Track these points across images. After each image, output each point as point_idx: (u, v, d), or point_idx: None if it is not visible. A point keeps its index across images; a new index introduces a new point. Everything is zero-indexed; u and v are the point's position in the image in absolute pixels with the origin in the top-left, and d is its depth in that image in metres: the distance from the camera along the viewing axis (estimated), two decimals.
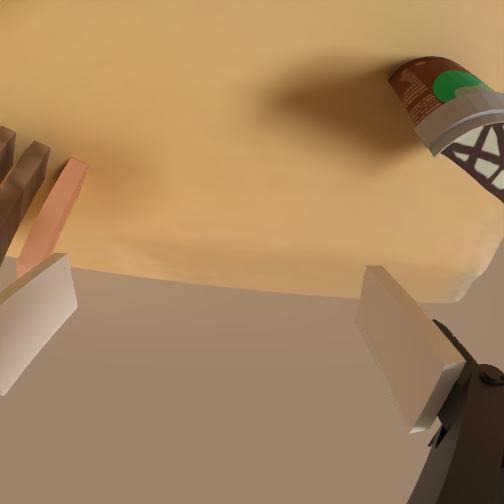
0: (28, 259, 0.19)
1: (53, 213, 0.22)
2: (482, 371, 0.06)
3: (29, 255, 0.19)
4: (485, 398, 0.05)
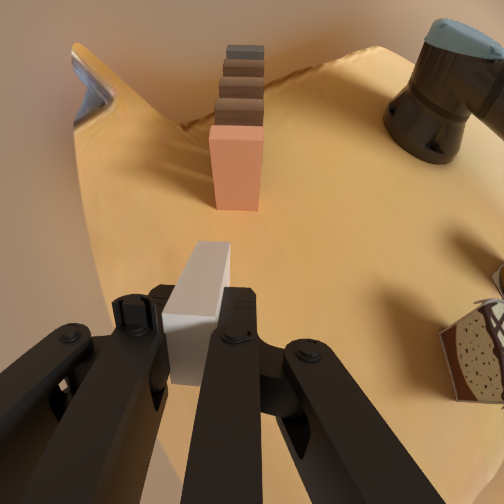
0: None
1: None
2: (222, 332, 0.08)
3: None
4: (228, 358, 0.07)
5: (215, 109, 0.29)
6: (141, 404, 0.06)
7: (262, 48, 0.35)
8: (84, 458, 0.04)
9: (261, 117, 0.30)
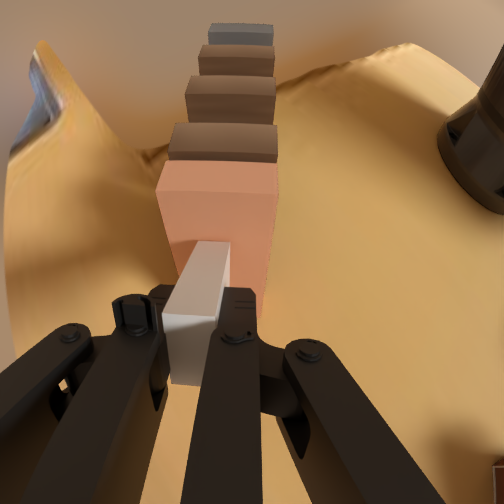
0: None
1: None
2: (223, 332, 0.08)
3: None
4: (228, 358, 0.07)
5: (170, 151, 0.13)
6: (141, 404, 0.06)
7: (270, 28, 0.20)
8: (84, 458, 0.04)
9: None
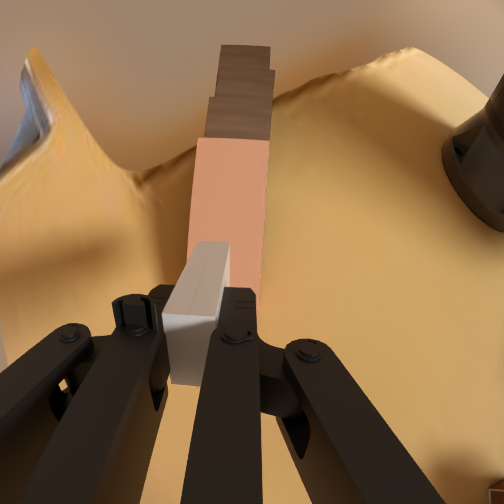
0: None
1: None
2: (222, 332, 0.08)
3: None
4: (228, 358, 0.07)
5: (211, 97, 0.23)
6: (141, 404, 0.06)
7: None
8: (84, 458, 0.04)
9: (269, 110, 0.23)
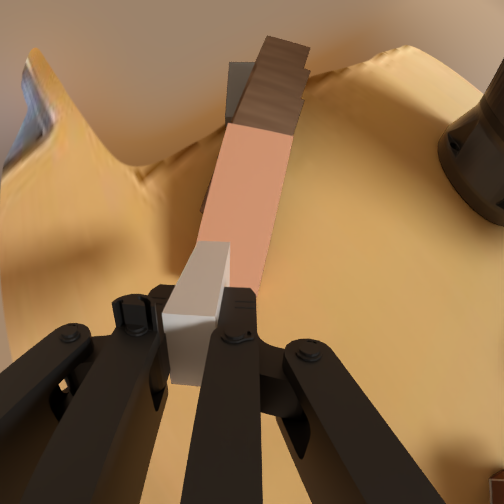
0: None
1: None
2: (223, 332, 0.08)
3: None
4: (228, 358, 0.07)
5: (250, 85, 0.24)
6: (141, 404, 0.06)
7: None
8: (84, 458, 0.04)
9: (299, 107, 0.24)
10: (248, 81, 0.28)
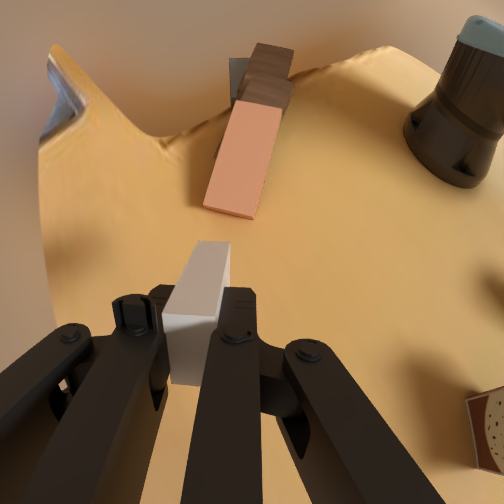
0: (280, 118, 0.31)
1: (269, 156, 0.30)
2: (222, 332, 0.08)
3: (279, 121, 0.31)
4: (228, 358, 0.07)
5: (255, 72, 0.32)
6: (141, 404, 0.06)
7: None
8: (84, 458, 0.04)
9: (290, 88, 0.32)
10: (246, 70, 0.38)
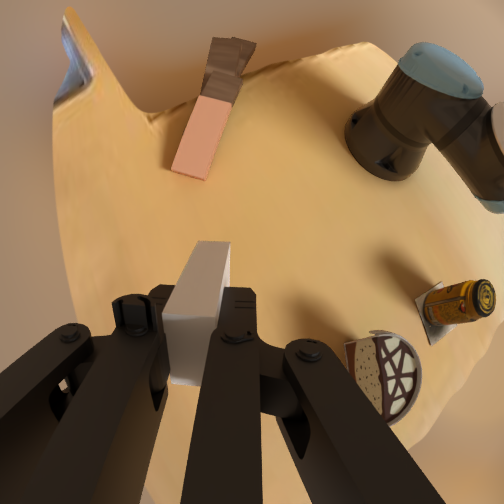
0: (230, 109, 0.42)
1: (219, 137, 0.42)
2: (223, 332, 0.08)
3: (229, 111, 0.42)
4: (228, 358, 0.07)
5: (214, 71, 0.43)
6: (140, 404, 0.06)
7: None
8: (84, 458, 0.04)
9: (239, 83, 0.43)
10: None
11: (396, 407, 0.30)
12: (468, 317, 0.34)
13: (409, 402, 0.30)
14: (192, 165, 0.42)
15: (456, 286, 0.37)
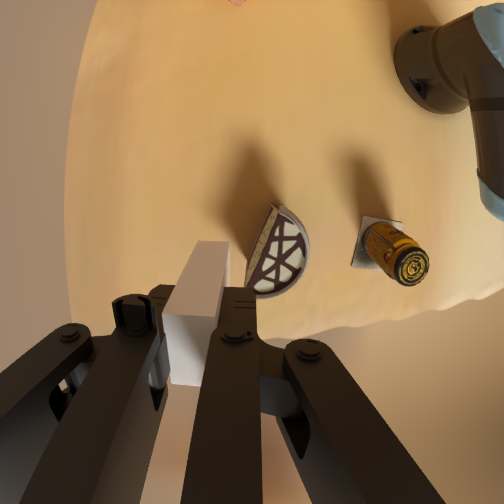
0: None
1: None
2: (223, 332, 0.08)
3: None
4: (228, 358, 0.07)
5: None
6: (141, 404, 0.06)
7: None
8: (84, 459, 0.04)
9: None
10: None
11: (262, 286, 0.39)
12: (386, 269, 0.38)
13: (276, 291, 0.39)
14: None
15: (399, 235, 0.38)
